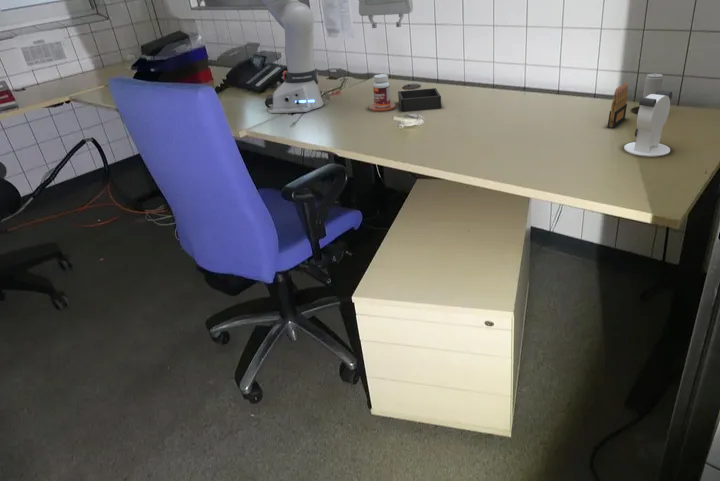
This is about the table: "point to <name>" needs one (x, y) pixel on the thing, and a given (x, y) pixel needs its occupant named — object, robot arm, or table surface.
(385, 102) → the pill bottle
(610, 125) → the brown panel in holder
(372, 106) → the coaster
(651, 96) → the white disc-based upright fixture
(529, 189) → the table surface
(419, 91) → the black box
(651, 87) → the beverage can
